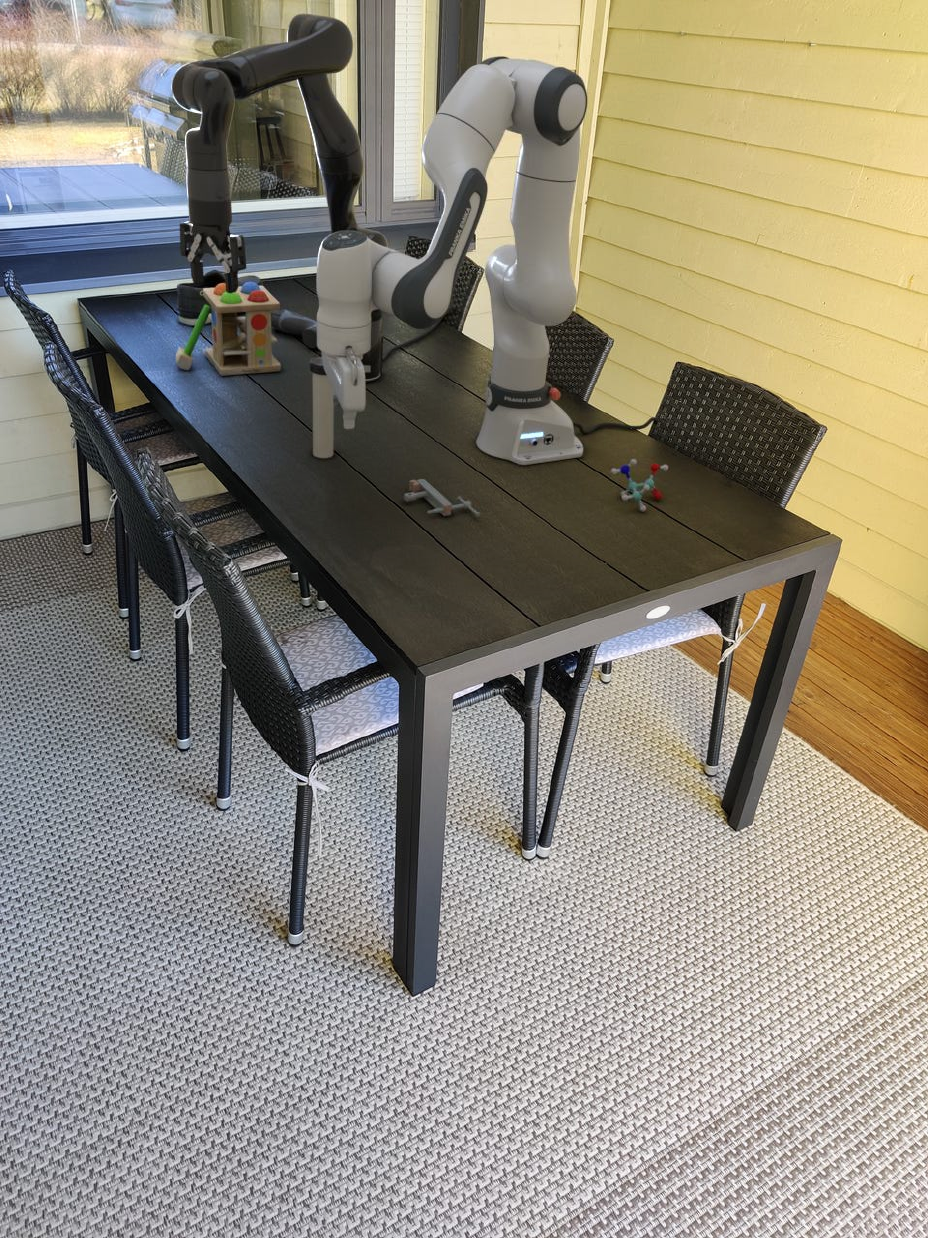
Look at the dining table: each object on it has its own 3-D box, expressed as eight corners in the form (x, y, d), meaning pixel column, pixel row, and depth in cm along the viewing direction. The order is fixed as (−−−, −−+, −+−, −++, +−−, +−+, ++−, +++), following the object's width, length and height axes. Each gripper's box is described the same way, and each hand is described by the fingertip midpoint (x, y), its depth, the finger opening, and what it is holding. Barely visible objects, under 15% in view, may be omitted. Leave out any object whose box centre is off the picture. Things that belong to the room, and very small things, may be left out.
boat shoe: (283, 304, 273) (281, 265, 267) (196, 327, 249) (192, 285, 243) (249, 295, 278) (246, 257, 273) (160, 318, 255) (156, 277, 249)
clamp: (395, 482, 182) (442, 474, 187) (394, 493, 183) (441, 484, 188) (433, 519, 172) (482, 509, 176) (432, 530, 173) (481, 520, 178)
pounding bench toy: (183, 379, 220) (176, 299, 210) (169, 357, 231) (162, 280, 221) (282, 371, 230) (280, 294, 220) (264, 350, 240) (262, 276, 230)
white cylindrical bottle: (336, 451, 197) (337, 361, 186) (328, 459, 193) (329, 368, 183) (317, 447, 197) (317, 358, 187) (309, 455, 194) (308, 364, 184)
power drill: (305, 316, 264) (364, 334, 256) (257, 332, 251) (318, 351, 243) (305, 296, 261) (365, 314, 253) (257, 311, 248) (318, 330, 240)
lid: (340, 368, 187) (340, 359, 186) (330, 377, 183) (330, 367, 182) (316, 364, 188) (316, 354, 187) (305, 372, 184) (305, 362, 183)
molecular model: (670, 504, 181) (654, 452, 180) (621, 519, 184) (605, 468, 183) (677, 496, 191) (662, 447, 190) (631, 511, 195) (616, 462, 194)
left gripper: (254, 199, 174) (257, 291, 183) (196, 184, 180) (201, 275, 189) (223, 204, 168) (228, 300, 177) (164, 189, 174) (172, 282, 183)
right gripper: (376, 359, 154) (374, 440, 162) (351, 316, 170) (350, 392, 177) (336, 360, 152) (336, 442, 160) (314, 317, 168) (315, 394, 176)
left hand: (214, 287), depth 183 cm, fingers open, 8 cm apart
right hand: (343, 415), depth 169 cm, fingers open, 8 cm apart
